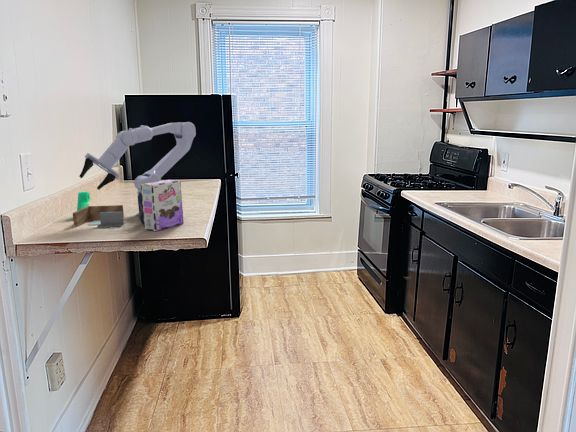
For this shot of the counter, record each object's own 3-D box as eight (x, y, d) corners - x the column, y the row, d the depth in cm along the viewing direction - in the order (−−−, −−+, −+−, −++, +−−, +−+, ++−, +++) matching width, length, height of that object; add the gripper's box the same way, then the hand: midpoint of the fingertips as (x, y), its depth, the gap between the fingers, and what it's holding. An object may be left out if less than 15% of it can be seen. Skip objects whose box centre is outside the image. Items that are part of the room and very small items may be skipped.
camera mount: (97, 218, 180) (94, 193, 178) (77, 219, 179) (74, 194, 177) (105, 212, 192) (102, 188, 189) (86, 213, 191) (83, 189, 189)
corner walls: (124, 217, 179) (122, 204, 178) (112, 225, 166) (111, 211, 165) (88, 218, 179) (86, 206, 177) (74, 227, 165) (72, 213, 164)
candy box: (155, 231, 155) (151, 184, 151) (144, 230, 158) (139, 183, 154) (184, 223, 166) (181, 179, 163) (173, 222, 169) (169, 179, 166)
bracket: (123, 224, 167) (122, 211, 166) (119, 227, 163) (118, 214, 162) (102, 225, 167) (100, 212, 166) (97, 228, 162) (95, 215, 161)
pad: (102, 224, 168) (102, 224, 167) (87, 225, 167) (87, 224, 167) (109, 219, 176) (109, 219, 176) (95, 220, 176) (95, 219, 176)
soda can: (139, 222, 170) (136, 191, 168) (157, 220, 173) (155, 189, 170) (141, 226, 164) (138, 193, 161) (160, 224, 167) (157, 192, 164)
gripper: (94, 141, 169) (70, 169, 165) (127, 164, 171) (104, 192, 167) (96, 146, 176) (73, 173, 172) (128, 168, 178) (106, 195, 174)
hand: (89, 183), depth 170 cm, fingers open, 7 cm apart
